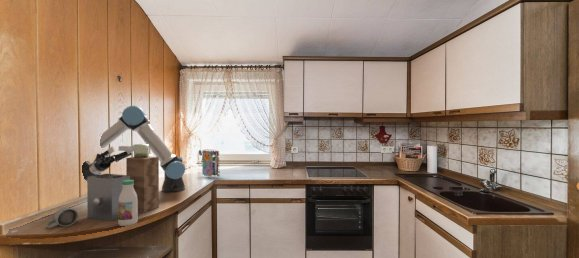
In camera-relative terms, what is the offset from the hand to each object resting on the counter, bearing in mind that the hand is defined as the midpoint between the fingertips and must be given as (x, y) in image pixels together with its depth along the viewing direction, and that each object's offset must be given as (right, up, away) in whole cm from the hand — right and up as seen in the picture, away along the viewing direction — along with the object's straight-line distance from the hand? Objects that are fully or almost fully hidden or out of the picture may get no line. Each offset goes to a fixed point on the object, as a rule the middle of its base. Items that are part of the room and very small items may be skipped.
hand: (124, 147), depth 154 cm
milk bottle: (+17, -34, -26) cm, 46 cm away
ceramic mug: (-11, -34, -28) cm, 45 cm away
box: (+20, -32, +89) cm, 97 cm away
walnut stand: (+12, -33, -3) cm, 35 cm away
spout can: (+6, -5, -1) cm, 8 cm away
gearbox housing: (+2, -33, -16) cm, 37 cm away
